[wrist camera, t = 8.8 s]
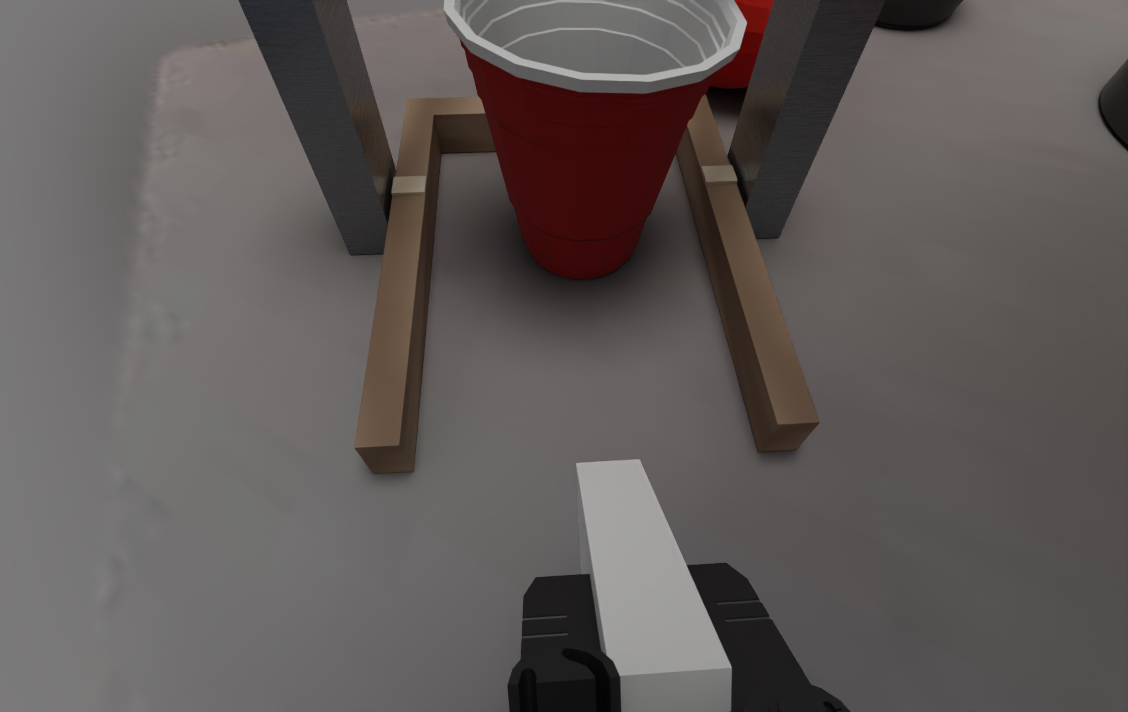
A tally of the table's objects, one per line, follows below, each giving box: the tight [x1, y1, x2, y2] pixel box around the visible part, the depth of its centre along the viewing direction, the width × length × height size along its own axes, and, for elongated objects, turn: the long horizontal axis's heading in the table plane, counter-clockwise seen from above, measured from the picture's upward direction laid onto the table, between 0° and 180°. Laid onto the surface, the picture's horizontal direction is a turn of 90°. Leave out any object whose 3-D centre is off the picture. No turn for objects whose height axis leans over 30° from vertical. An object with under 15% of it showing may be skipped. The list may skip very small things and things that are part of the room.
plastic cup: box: [444, 0, 747, 279], centre depth 25 cm, size 11×11×12 cm
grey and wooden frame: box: [239, 0, 886, 474], centre depth 22 cm, size 22×22×17 cm
